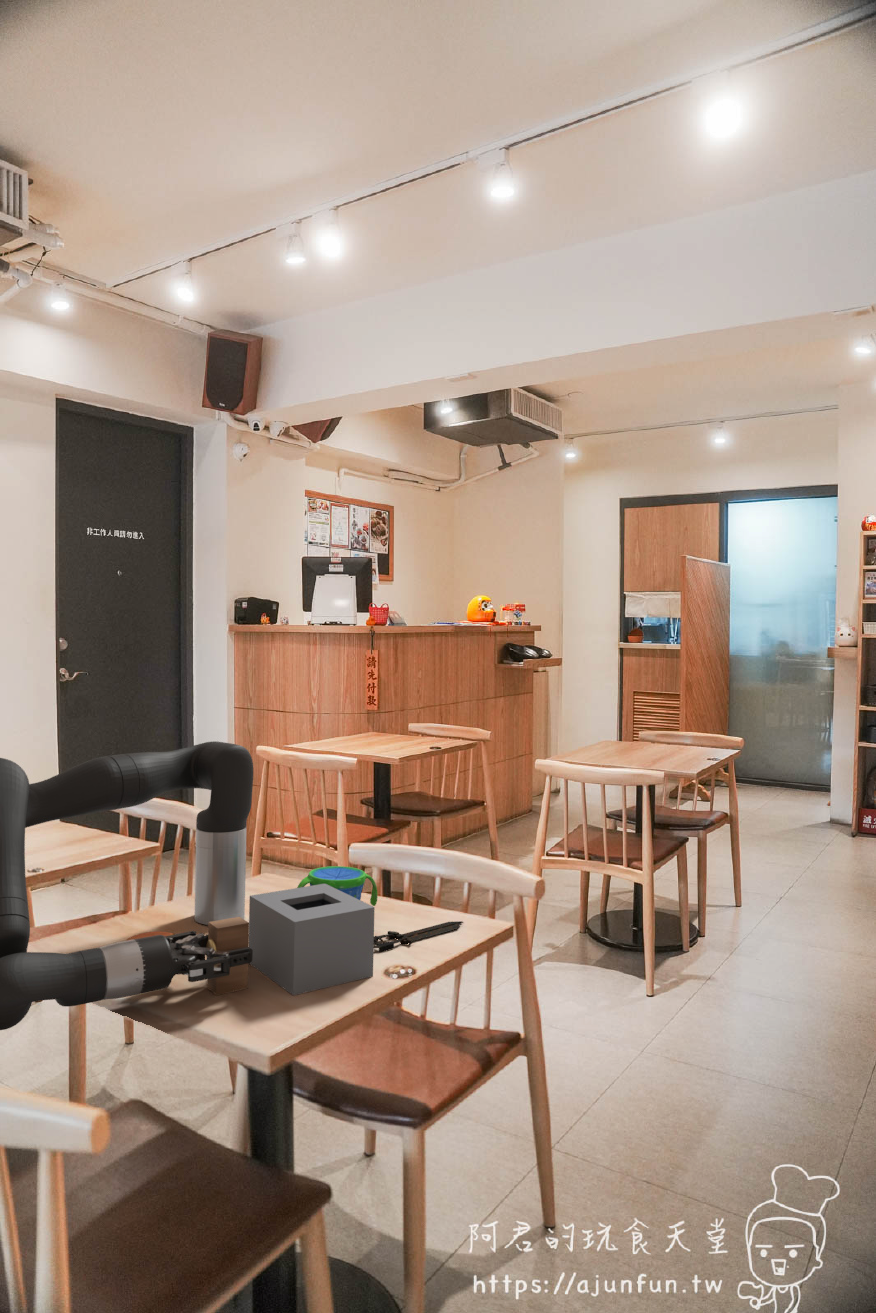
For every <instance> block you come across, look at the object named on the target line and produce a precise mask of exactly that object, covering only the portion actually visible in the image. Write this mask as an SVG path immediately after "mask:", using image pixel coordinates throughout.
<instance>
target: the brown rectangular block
mask: <svg viewBox="0 0 876 1313" xmlns="http://www.w3.org/2000/svg"><path fill="white" fill-rule="evenodd" d="M207 926H208V927H207V928H208V933H207V934H208V942H207V945H206V948H213V949H214V951H223V952H224V951H226V952H227V951H231V950H236V949H241V948H246V947H249V921H247V920H246V919H245V918H244V919H242V918H241V917H235V918H229V919H223V920H218V921H212V922H209V923H208V925H207ZM214 958H217V957H214ZM220 964H221V963H219V964H215V965H220ZM206 980H207V981H206V988H207V989H208V990H209V991H211V992H212V993H213V994H214V995H215V996H219V995H223V994H228V993H232V992H238V991H241V990H246V989H248V983H249V963H248V964H243V965H239V966H234V967H230V974H229V975H227V976H222V977H217V978H211V979H206Z"/></svg>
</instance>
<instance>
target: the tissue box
mask: <svg viewBox="0 0 876 1313" xmlns="http://www.w3.org/2000/svg"><path fill="white" fill-rule="evenodd" d="M248 908H249V911H248V912H249V914H248V916H249V917H248V918H249V919H248V922H249V945H248V947H250V948H251V949H252V950H253V959H252V962H251V963H249V964H250V965H251V966H252V967H253V968H255V969H256V970H258V971H260V972H261V973H262V974H264V975H265V976H266V977H267V978H269V979H270V980H271V981H273V982H274V983H276V984H277V985H278V986H280V987H281V988H283V989H284V990H285V991H286V992H287V993H289V994H290V995H292V996H296V995H301V994H305V993H308V992H313V991H316V990H317V991H318V990H321V989H325V988H328V987H329V988H330V987H335V986H337V985H342V984H346V983H350V982H355V981H359V980H363V979H368V978H371V977H370V976H372V977H374V950H375V948H374V946H375V944H374V937H375V906H373V905H371V904H368V903H366V902H364V901H362V900H361V899H360V900H358V899H356V898H354V897H352V896H350V895H348V894H346V893H344V892H342V891H340V890H338V889H335V888H333V887H331V886H329V885H327V884H319V885H313V886H310V885H308V886H307V885H306V886H304V887H300V888H297V887H295V888H289V889H284V890H277V891H270V892H263V893H259V894H252V895H249V907H248Z"/></svg>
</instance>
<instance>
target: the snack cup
mask: <svg viewBox="0 0 876 1313" xmlns="http://www.w3.org/2000/svg"><path fill="white" fill-rule="evenodd" d="M366 879H367V880H369V881H370V882H371V885H372V886H371V887H372V889H371V893H370V894H371V896H370V900H369V903H370V905H371V906H373V907H376V905H377V902H378V897H379V896H378V895H379V894H378V887H377V886H378V885H377V884H376V881H375V880H374V878H373V877H372V876H371V875H369V874H367V873H366V872H365V871H364V870H362V869H360V868H356V867H352V866H342V865H340V866H338V865H336V866H335V865H332V866H331V865H330V866H322V867H317V868H314V869H312V870H310V871H309V872H308V875H307V876H306V877H304V878H303V879H301V881H300V882H299V883H298V885H297V887H296V888H300V887H306V886H307V885H308V884H309V886H313V885H319V884H327V885H329V886H331V887H333V888H335V889H338V890H340V891H342V892H344V893H346V894H348V895H350V896H352V897H354V898H356V899H358V900H361V898H362V893H363V889H364V885H365V882H366Z"/></svg>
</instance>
